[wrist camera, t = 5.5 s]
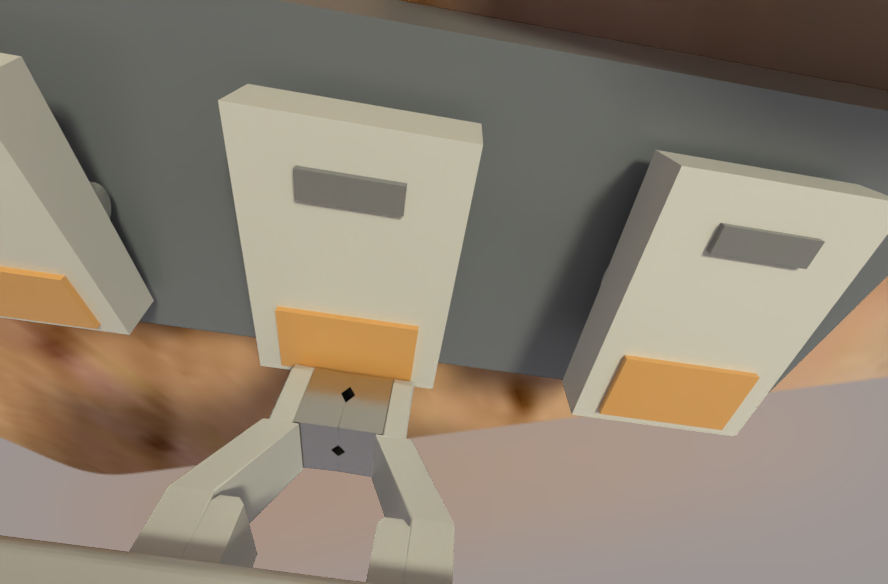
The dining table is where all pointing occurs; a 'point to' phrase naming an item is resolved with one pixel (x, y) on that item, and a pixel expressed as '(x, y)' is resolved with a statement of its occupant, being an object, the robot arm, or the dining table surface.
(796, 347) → the block
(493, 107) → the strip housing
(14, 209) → the rocker
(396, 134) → the rocker
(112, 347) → the dining table surface
